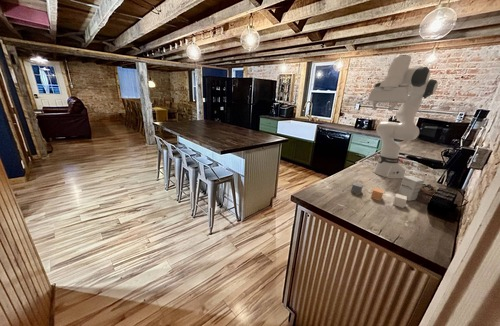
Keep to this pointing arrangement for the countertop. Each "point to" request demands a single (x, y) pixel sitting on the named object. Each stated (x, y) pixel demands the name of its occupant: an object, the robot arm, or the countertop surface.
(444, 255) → the countertop surface
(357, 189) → the charcoal cube
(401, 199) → the offwhite cube
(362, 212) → the countertop surface
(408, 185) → the supplement box
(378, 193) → the terracotta cube
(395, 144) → the robot arm
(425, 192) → the cupcake
